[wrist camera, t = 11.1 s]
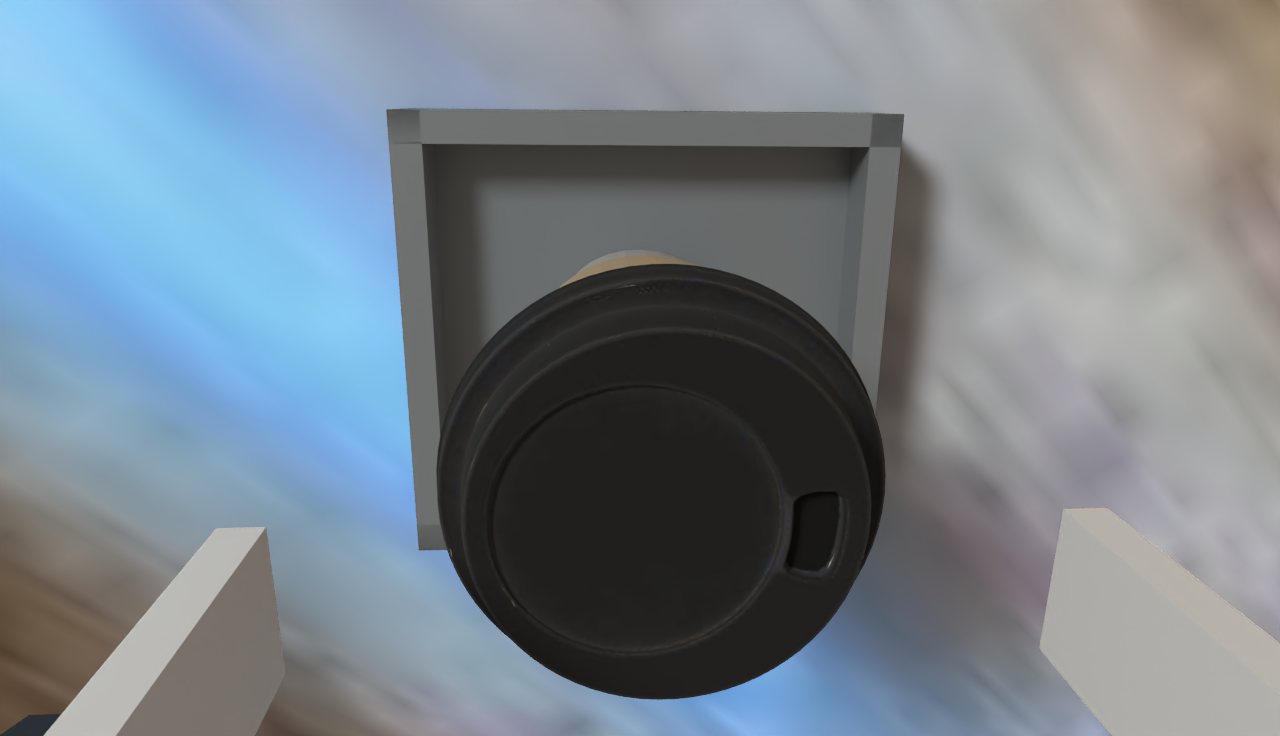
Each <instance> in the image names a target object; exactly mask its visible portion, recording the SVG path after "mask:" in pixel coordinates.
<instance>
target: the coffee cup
mask: <svg viewBox="0 0 1280 736" xmlns="http://www.w3.org/2000/svg"><path fill="white" fill-rule="evenodd" d="M436 473H437V503H438V511H439V519H440V525H441V529H442V533H443V538H444V541H445V544H446V547H447V550H448V553H449V556H450V559H451V561H452V563H453V565H454V568H455V570H456V572H457V574H458V576H459V578H460V579H461V581H462V583H463V585H464V587H465V588H466V590H467V591H468V593H469V594H470V596H471V597H472V599H473V600H474V601H475V603H476V604H477V605H478V607H479V608H480V609H481V610H482V611H483V613H484V614H485V615H486V616H487V617H488V618H489V619H490V620H491V621H492V622H493V623H494V624H495V625H496V626H497V627H498V628H499V629H500V630H501V631H502V632H503V633H504V634H505V635H506V636H508V637H509V638H510V639H511V640H512V641H513V642H514V643H515V644H516V645H517V646H519V647H520V648H521V649H522V650H523V651H524V652H526V653H527V654H528V655H529V656H530V657H532V658H533V659H534V660H536V661H537V662H539V663H540V664H542V665H543V666H544V667H546V668H548V669H549V670H551V671H553V672H555V673H556V674H558V675H560V676H562V677H564V678H566V679H568V680H570V681H573V682H575V683H577V684H580V685H583V686H585V687H588V688H591V689H594V690H598V691H601V692H605V693H608V694H613V695H618V696H623V697H631V698H639V699H679V698H688V697H695V696H701V695H706V694H711V693H715V692H719V691H722V690H726V689H729V688H732V687H735V686H738V685H740V684H743V683H745V682H748V681H750V680H752V679H755V678H757V677H759V676H761V675H763V674H764V673H766V672H768V671H770V670H772V669H774V668H775V667H777V666H778V665H780V664H782V663H783V662H785V661H786V660H788V659H789V658H790V657H792V656H793V655H794V654H796V653H797V652H798V651H800V650H801V649H802V648H803V647H804V646H805V645H807V644H808V643H809V642H810V641H811V640H812V639H813V638H814V637H815V636H816V635H817V634H818V633H819V632H820V631H821V630H822V629H823V628H824V627H825V626H826V624H827V623H828V622H829V621H830V619H831V618H832V617H833V616H834V614H835V613H836V612H837V610H838V609H839V607H840V606H841V604H842V603H843V601H844V600H845V598H846V596H847V594H848V593H849V591H850V589H851V587H852V585H853V583H854V581H855V580H856V578H857V576H858V574H859V573H860V571H861V569H862V567H863V565H864V563H865V561H866V559H867V557H868V554H869V552H870V550H871V548H872V545H873V542H874V539H875V536H876V533H877V530H878V527H879V522H880V518H881V514H882V508H883V501H884V494H885V459H884V452H883V445H882V439H881V435H880V431H879V427H878V423H877V420H876V417H875V414H874V410H873V407H872V404H871V401H870V398H869V395H868V393H867V390H866V388H865V386H864V384H863V382H862V379H861V377H860V375H859V373H858V371H857V370H856V368H855V367H854V365H853V363H852V362H851V360H850V358H849V357H848V355H847V354H846V353H845V351H844V350H843V349H842V347H841V346H840V345H839V343H838V342H837V341H836V340H835V339H834V337H833V336H832V335H831V334H830V333H829V332H828V331H827V330H826V329H825V328H824V327H823V326H822V325H821V324H820V323H819V322H818V321H817V320H816V319H815V318H813V317H812V316H811V315H810V314H809V313H808V312H806V311H805V310H804V309H802V308H801V307H800V306H798V305H797V304H795V303H794V302H793V301H791V300H789V299H788V298H786V297H784V296H783V295H781V294H779V293H778V292H776V291H774V290H772V289H770V288H768V287H766V286H764V285H762V284H760V283H758V282H755V281H753V280H750V279H747V278H744V277H742V276H739V275H736V274H732V273H729V272H725V271H721V270H718V269H713V268H707V267H701V266H699V265H696V264H693V263H690V262H686V261H683V260H681V259H679V258H677V257H675V256H672V255H668V254H665V253H662V252H658V251H650V250H624V251H619V252H615V253H610V254H607V255H605V256H602V257H600V258H598V259H595V260H593V261H592V262H590V263H589V264H587V265H586V266H585V267H583V268H582V269H581V270H579V272H578V273H577V274H576V275H575V276H573V277H572V278H570V279H569V280H568V281H566V282H565V283H563V284H562V285H561V286H560V287H559V289H557V290H555V291H552V292H550V293H549V294H547V295H545V296H544V297H542V298H540V299H539V300H537V301H535V302H534V303H532V304H531V305H529V306H528V307H527V308H525V309H524V310H522V311H521V312H520V313H518V314H517V315H516V316H514V317H513V318H512V319H511V320H510V321H509V322H508V323H506V324H505V325H504V326H503V327H502V328H501V329H500V330H499V331H498V332H497V333H496V334H495V335H494V336H493V337H492V338H491V339H490V340H489V341H488V342H487V344H486V345H485V346H484V347H483V348H482V350H481V351H480V352H479V354H478V355H477V356H476V358H475V359H474V360H473V362H472V363H471V365H470V366H469V368H468V369H467V371H466V373H465V374H464V376H463V377H462V379H461V381H460V383H459V385H458V387H457V389H456V391H455V393H454V395H453V398H452V400H451V403H450V405H449V408H448V410H447V413H446V416H445V420H444V423H443V427H442V431H441V435H440V441H439V447H438V455H437V469H436Z"/></svg>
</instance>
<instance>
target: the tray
mask: <svg viewBox="0 0 1280 736" xmlns="http://www.w3.org/2000/svg"><path fill="white" fill-rule="evenodd" d="M903 122H904V114H886V113H825V112H718V111H611V110H504V109H389V110H387V124H388V138H389V151H390V165H391V178H392V192H393V205H394V219H395V232H396V246H397V259H398V273H399V287H400V300H401V314H402V327H403V341H404V354H405V368H406V381H407V395H408V408H409V422H410V436H411V449H412V463H413V476H414V490H415V503H416V517H417V530H418V544H419V550H447V547H446V544H445V541H444V538H443V533H442V529H441V525H440V519H439V511H438V503H437V473H436V469H437V455H438V447H439V441H440V435H441V431H442V427H443V423H444V420H445V416H446V413H447V410H448V408H449V405H450V403H451V400H452V398H453V395H454V393H455V391H456V389H457V387H458V385H459V383H460V381H461V379H462V377H463V376H464V374H465V373H466V371H467V369H468V368H469V366H470V365H471V363H472V362H473V360H474V359H475V358H476V356H477V355H478V354H479V352H480V351H481V350H482V348H483V347H484V346H485V345H486V344H487V342H488V341H489V340H490V339H491V338H492V337H493V336H494V335H495V334H496V333H497V332H498V331H499V330H500V329H501V328H502V327H503V326H504V325H505V324H506V323H508V322H509V321H510V320H511V319H512V318H513V317H514V316H516V315H517V314H518V313H520V312H521V311H522V310H524V309H525V308H527V307H528V306H529V305H531V304H532V303H534V302H535V301H537V300H539V299H540V298H542V297H544V296H545V295H547V294H549V293H550V292H552V291H555V290H557V289H559V287H560V286H561V285H562V284H563V283H565V282H566V281H568V280H569V279H570V278H572V277H573V276H575V275H576V274H577V273H578V272H579V270H581V269H582V268H583V267H585V266H586V265H587V264H589V263H590V262H592V261H593V260H595V259H598V258H600V257H602V256H605V255H607V254H610V253H615V252H619V251H624V250H650V251H658V252H662V253H665V254H668V255H672V256H675V257H677V258H679V259H681V260H683V261H686V262H690V263H693V264H696V265H699V266H701V267H707V268H713V269H718V270H721V271H725V272H729V273H732V274H736V275H739V276H742V277H744V278H747V279H750V280H753V281H755V282H758V283H760V284H762V285H764V286H766V287H768V288H770V289H772V290H774V291H776V292H778V293H779V294H781V295H783V296H784V297H786V298H788V299H789V300H791V301H793V302H794V303H795V304H797V305H798V306H800V307H801V308H802V309H804V310H805V311H806V312H808V313H809V314H810V315H811V316H812V317H813V318H815V319H816V320H817V321H818V322H819V323H820V324H821V325H822V326H823V327H824V328H825V329H826V330H827V331H828V332H829V333H830V334H831V335H832V336H833V337H834V339H835V340H836V341H837V342H838V343H839V345H840V346H841V347H842V349H843V350H844V351H845V353H846V354H847V355H848V357H849V358H850V360H851V362H852V363H853V365H854V367H855V368H856V370H857V371H858V373H859V375H860V377H861V379H862V382H863V384H864V386H865V388H866V390H867V393H868V395H869V398H870V401H871V404H872V407H873V410H874V414H876V404H877V393H878V383H879V373H880V362H881V352H882V341H883V331H884V320H885V310H886V299H887V289H888V279H889V268H890V258H891V247H892V237H893V226H894V216H895V205H896V195H897V184H898V174H899V164H900V153H901V143H902V132H903Z"/></svg>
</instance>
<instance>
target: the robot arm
mask: <svg viewBox="0 0 1280 736" xmlns="http://www.w3.org/2000/svg"><path fill="white" fill-rule="evenodd" d="M1039 649H1040V650H1041V651H1042V653H1043V654H1044V655H1045V656H1046V657H1047V659H1048V660H1049V661H1050V662H1051V663H1052V665H1053V666H1054V667H1055V668H1056V669H1057V671H1058V672H1059V673H1060V674H1061V675H1062V677H1063V678H1064V679H1065V680H1066V681H1067V683H1068V684H1069V685H1070V686H1071V687H1072V689H1073V690H1074V691H1075V692H1076V693H1077V695H1078V696H1079V697H1080V698H1081V699H1082V701H1083V702H1084V703H1085V704H1086V706H1087V707H1088V708H1089V709H1090V710H1091V712H1092V713H1093V714H1094V715H1095V716H1096V718H1097V719H1098V720H1099V721H1100V722H1101V724H1102V725H1103V726H1104V727H1105V728H1106V730H1107V731H1108V732H1109V733H1110V734H1111V736H1280V643H1279V642H1278V641H1276V640H1275V639H1274V638H1272V637H1271V636H1270V635H1269V634H1267V633H1266V632H1265V631H1264V630H1262V629H1261V628H1260V627H1258V626H1257V625H1256V624H1255V623H1253V622H1252V621H1251V620H1249V619H1248V618H1247V617H1246V616H1244V615H1243V614H1242V613H1241V612H1239V611H1238V610H1237V609H1235V608H1234V607H1233V606H1232V605H1230V604H1229V603H1228V602H1226V601H1225V600H1224V599H1223V598H1221V597H1220V596H1219V595H1218V594H1216V593H1215V592H1214V591H1212V590H1211V589H1210V588H1209V587H1207V586H1206V585H1205V584H1203V583H1202V582H1201V581H1200V580H1198V579H1197V578H1196V577H1195V576H1193V575H1192V574H1191V573H1189V572H1188V571H1187V570H1186V569H1184V568H1183V567H1182V566H1180V565H1179V564H1178V563H1177V562H1175V561H1174V560H1173V559H1172V558H1170V557H1169V556H1168V555H1166V554H1165V553H1164V552H1163V551H1161V550H1160V549H1159V548H1157V547H1156V546H1155V545H1154V544H1152V543H1151V542H1150V541H1149V540H1147V539H1146V538H1145V537H1143V536H1142V535H1141V534H1140V533H1138V532H1137V531H1136V530H1134V529H1133V528H1132V527H1131V526H1129V525H1128V524H1127V523H1126V522H1124V521H1123V520H1122V519H1120V518H1119V517H1118V516H1117V515H1115V514H1114V513H1113V512H1111V511H1110V510H1109V509H1108V508H1082V509H1063V514H1062V520H1061V526H1060V531H1059V537H1058V543H1057V549H1056V554H1055V560H1054V566H1053V572H1052V577H1051V583H1050V589H1049V595H1048V601H1047V606H1046V612H1045V618H1044V624H1043V629H1042V635H1041V641H1040V647H1039ZM285 675H286V673H285V666H284V658H283V651H282V643H281V636H280V628H279V621H278V613H277V606H276V598H275V591H274V583H273V576H272V568H271V561H270V553H269V546H268V538H267V531H266V527H252V528H216V529H215V530H214V532H213V533H212V534H211V535H210V536H209V538H208V539H207V540H206V541H205V542H204V544H203V545H202V546H201V547H200V548H199V550H198V551H197V552H196V553H195V554H194V556H193V557H192V558H191V559H190V560H189V562H188V563H187V564H186V565H185V566H184V568H183V569H182V570H181V571H180V572H179V574H178V575H177V576H176V577H175V578H174V580H173V581H172V582H171V583H170V584H169V586H168V587H167V588H166V589H165V590H164V592H163V593H162V594H161V595H160V596H159V598H158V599H157V600H156V601H155V602H154V604H153V605H152V606H151V607H150V608H149V610H148V611H147V612H146V613H145V614H144V616H143V617H142V618H141V619H140V620H139V622H138V623H137V624H136V625H135V626H134V628H133V629H132V630H131V631H130V632H129V634H128V635H127V636H126V637H125V638H124V640H123V641H122V642H121V643H120V644H119V646H118V647H117V648H116V649H115V650H114V652H113V653H112V654H111V655H110V656H109V658H108V659H107V660H106V661H105V662H104V664H103V665H102V666H101V667H100V668H99V670H98V671H97V672H96V673H95V674H94V676H93V677H92V678H91V679H90V680H89V682H88V683H87V684H86V685H85V686H84V688H83V689H82V690H81V691H80V692H79V694H78V695H77V696H76V697H75V698H74V700H73V701H72V702H71V703H70V704H69V706H68V707H67V708H66V709H65V710H64V712H63V713H62V714H51V715H29V716H27V717H26V718H24V719H23V720H22V721H20V722H19V723H17V724H16V725H14V726H13V727H11V728H10V729H8V730H7V731H5V732H4V733H2V734H1V735H0V736H255V734H256V732H257V730H258V728H259V726H260V724H261V722H262V720H263V718H264V716H265V714H266V712H267V710H268V708H269V706H270V704H271V702H272V700H273V698H274V696H275V694H276V692H277V690H278V689H279V687H280V685H281V683H282V681H283V679H284V677H285Z"/></svg>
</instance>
